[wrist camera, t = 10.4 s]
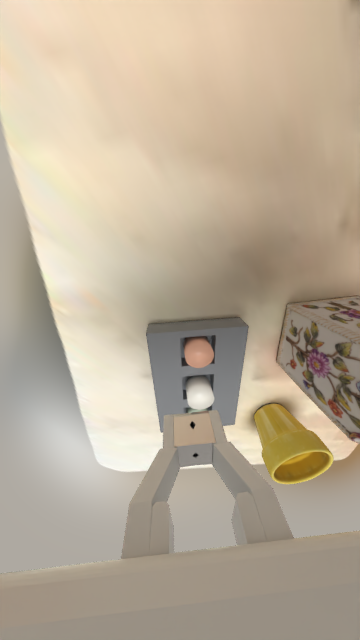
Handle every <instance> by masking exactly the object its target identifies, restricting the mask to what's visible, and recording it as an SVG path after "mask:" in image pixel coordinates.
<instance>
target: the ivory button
mask: <svg viewBox="0 0 360 640" xmlns="http://www.w3.org/2000/svg"><path fill="white" fill-rule="evenodd" d="M186 393H187V401H188V405H189V406H190V407H191V408H193V409H197V410H201V409H206V408H208V407H209V406H211V405H212V404H213V402H214V395H213V392H212V388H211V385H210V382H209V380H208V379H207V378H206V377H204V376H200V375H197V376H193V377H191V378H190V379H188V381H187V382H186Z"/></svg>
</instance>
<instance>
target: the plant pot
mask: <svg viewBox="0 0 360 640" xmlns="http://www.w3.org/2000/svg"><path fill="white" fill-rule="evenodd" d="M254 420H255V423H256V427H257V430H258V434H259V437H260V441H261V444H262V448H263V450H262V457H263V460H264V462H265V465H266V467H267V469H268V472H269V474H270V476H271V478H272V479H273V480H274V481H276V482H278V483H281V484H295V483H300V482H304V481H307V480H310V479H312V478H315V477H317V476H318V475H320V474H322V473H323V472H325V471H326V470H327V469H328V468H329V467H330V466H331V465H332V463H333V455H332V453H331V452H330V451H329V449H328V448H327V447H326V446H325V444H324V443H323V442H322V441H321V439H320V438H319V437H318V436H317V435H316V434H315V433H314V432H312V431H310V430H307V429H306V428H305V427H304V426H303V425H302V424H301V423H300V422H299V421H298V420H297V419H296V418H294V417H293V416H292V415H291V414H290V413H289V412H288V411H287V410H286V409H285V408H284V407H283V406H281V405H279V404H268V405H265V406H263V407H261V408H260V409H258V410H257V411H256V413H255V415H254Z"/></svg>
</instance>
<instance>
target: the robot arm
mask: <svg viewBox="0 0 360 640" xmlns="http://www.w3.org/2000/svg"><path fill="white" fill-rule="evenodd" d="M204 464H212V465H213V467H214V468H215V470H216V471H217V472H218V474H219V476H220V477H221V479H222V480H223V482H224V483H225V485H226V486H227V487H228V489H229V491H230V492H231V494H232V495H233V497H234V498H235V500H236V502H235V506H234V511H233V516H232V524H233V529H234V534H235V538H236V543H237V545H235V546H228V547H219V548H210V549H202V550H194V551H186V552H177V553H174V528H173V523H172V518H171V513H170V508H169V505H168V503H167V500H168V498H169V495H170V493H171V490H172V487H173V485H174V482H175V480H176V477H177V474H178V472H179V469H180V467H185V466H193V465H204ZM0 640H360V531H353V532H345V533H336V534H328V535H320V536H312V537H303V538H294V537H293V535H292V533H291V530H290V528H289V526H288V523H287V521H286V518H285V516H284V514H283V511H282V509H281V507H280V504H279V502H278V499H277V497H276V494H275V492H274V490H273V488H272V487H271V486H270V485H269V484H268V482H267V481H266V480H265V479H264V478H263V477H262V476H261V475H260V474H259V473H258V472H257V471H256V469H255V468H254V467H253V466H252V465H251V464H250V463H249V462H248V461H247V460H246V459H245V457H244V456H243V455H242V454H241V453H240V452H239V451H238V450H237V449H236V448H235V447H234V446H233V444H232V443H231V442H227V439H226V436H225V433H224V429H223V426H222V422H221V419H220V415H219V412H218V411H217V410H212V411H201V412H192V413H183V414H171V415H164V426H163V449H160V450H159V452H158V453H157V455H156V457H155V459H154V461H153V462H152V464H151V466H150V468H149V470H148V471H147V473H146V475H145V477H144V479H143V480H142V482H141V484H140V486H139V487H138V489H137V491H136V493H135V495H134V496H133V498H132V500H131V502H130V504H129V510H128V517H127V523H126V530H125V536H124V543H123V549H122V556H121V559H118V560H110V561H101V562H93V563H84V564H76V565H68V566H59V567H51V568H42V569H34V570H26V571H18V572H9V573H1V574H0Z"/></svg>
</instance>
